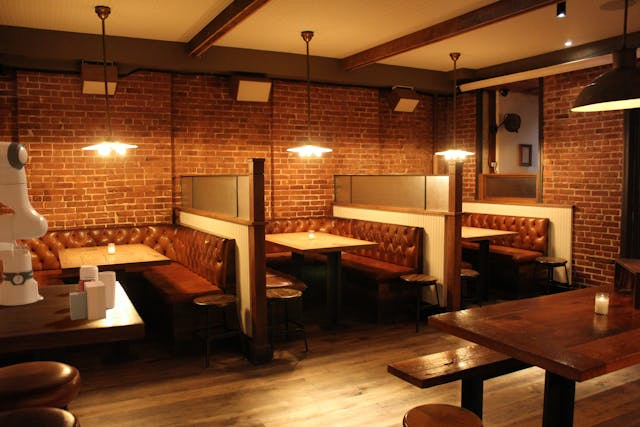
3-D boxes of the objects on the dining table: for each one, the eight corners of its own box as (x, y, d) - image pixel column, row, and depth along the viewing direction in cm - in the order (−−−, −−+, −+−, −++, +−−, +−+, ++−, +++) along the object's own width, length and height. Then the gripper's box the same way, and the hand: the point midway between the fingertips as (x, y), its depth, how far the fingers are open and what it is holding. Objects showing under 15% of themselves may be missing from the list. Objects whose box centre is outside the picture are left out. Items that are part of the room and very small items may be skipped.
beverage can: (102, 289, 270) (101, 264, 269) (91, 292, 262) (90, 267, 261) (87, 288, 271) (86, 264, 270) (77, 291, 264) (75, 267, 263)
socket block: (85, 313, 225) (84, 282, 223) (102, 311, 228) (101, 280, 227) (88, 320, 215) (87, 287, 214) (106, 317, 218) (105, 285, 217)
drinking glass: (107, 305, 238) (106, 270, 237) (120, 306, 236) (118, 271, 235) (96, 308, 232) (94, 273, 231) (108, 310, 230) (107, 274, 228)
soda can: (100, 303, 241) (99, 276, 240) (91, 307, 234) (90, 280, 233) (84, 303, 241) (83, 276, 240) (76, 307, 234) (74, 279, 233)
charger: (70, 317, 219) (69, 292, 218) (94, 314, 223) (93, 290, 222) (71, 320, 215) (70, 295, 214) (96, 317, 219) (95, 292, 219)
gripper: (-17, 247, 196) (27, 244, 203) (-14, 241, 214) (26, 238, 221) (-16, 265, 197) (28, 261, 203) (-13, 257, 215) (27, 254, 221)
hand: (27, 249), depth 212 cm, fingers open, 8 cm apart
